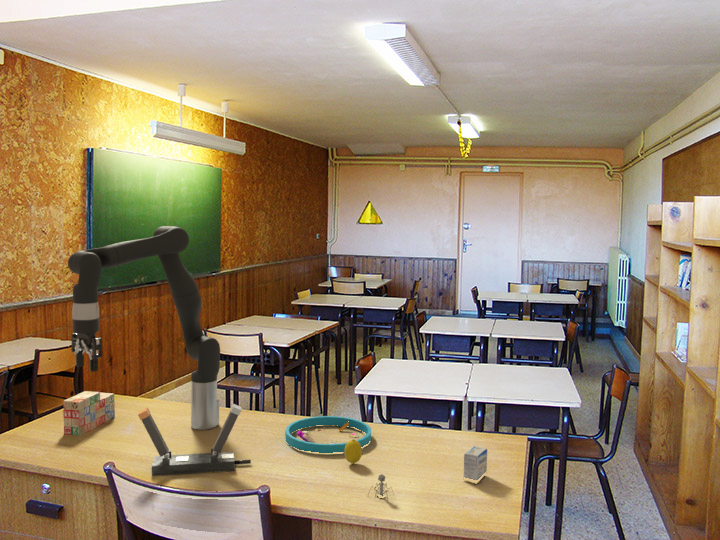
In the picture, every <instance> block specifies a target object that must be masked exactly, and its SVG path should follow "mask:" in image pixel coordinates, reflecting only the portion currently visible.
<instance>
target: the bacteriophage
mask: <svg viewBox="0 0 720 540" xmlns="http://www.w3.org/2000/svg"><path fill="white" fill-rule="evenodd" d="M385 479H386V476H385V475H384V474H383V473H382V474H379V475H378V478H377V480H378V481H379V483H378V482H376V485H375V487H374V486H373V485H371V486H370V489H369V491H368V494H367V495H369V494H370V491H371V489H372V488H373V489H375V493H376V494H375V495H374V498H377V497H376V496H377V495H378V494H380V495H383V494H384V495H385V493H386V494H388V490H389V488H388V485H387V483H384V482H385ZM377 488H378V489H377ZM385 488H386V490H385ZM392 488H393V487H390V489H391V491H392V493H393V495H395V493H394V491H393V489H392ZM387 489H388V490H387ZM386 498H387V500H389V496H388V495H386Z"/></svg>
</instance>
